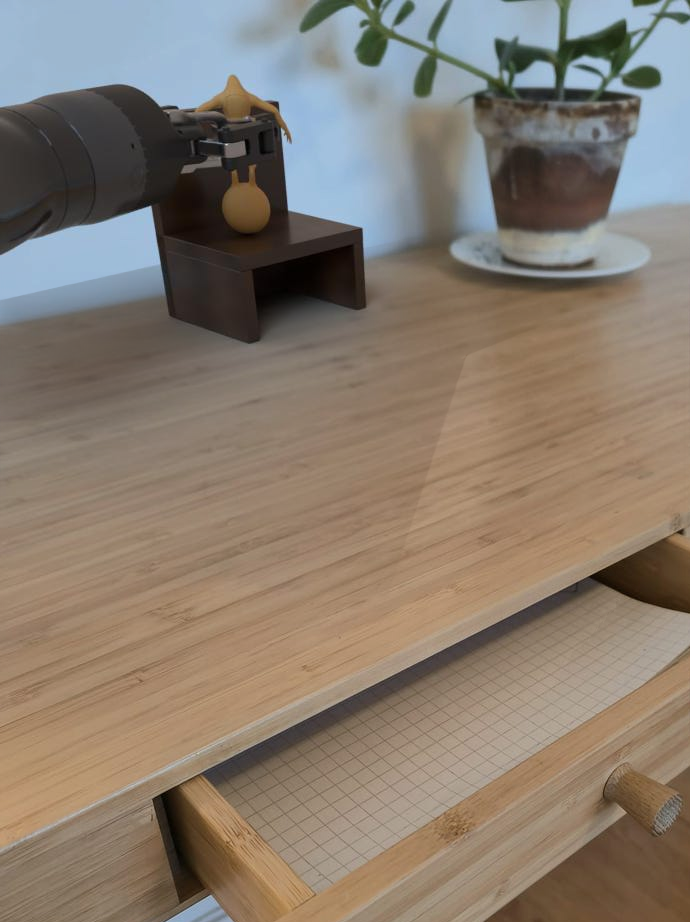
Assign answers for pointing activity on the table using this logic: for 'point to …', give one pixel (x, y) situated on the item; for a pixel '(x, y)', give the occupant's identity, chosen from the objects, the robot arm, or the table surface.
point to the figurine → (246, 200)
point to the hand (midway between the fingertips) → (224, 124)
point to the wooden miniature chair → (249, 249)
